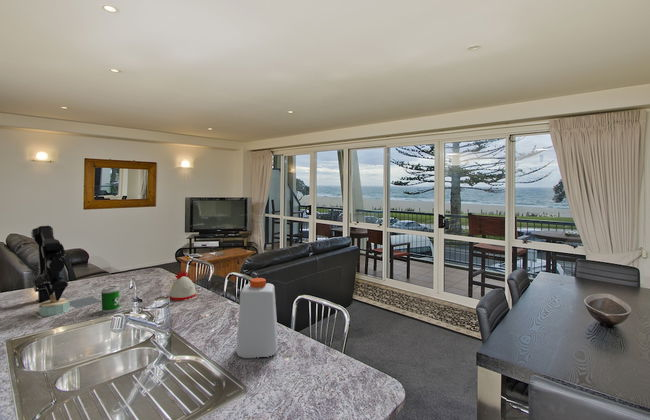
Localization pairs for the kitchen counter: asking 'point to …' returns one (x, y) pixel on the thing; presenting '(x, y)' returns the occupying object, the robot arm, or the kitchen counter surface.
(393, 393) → the kitchen counter surface
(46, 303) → the lid
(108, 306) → the soda can
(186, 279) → the kitchen timer
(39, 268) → the robot arm
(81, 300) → the mat
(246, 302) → the plastic bottle
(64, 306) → the bowl
